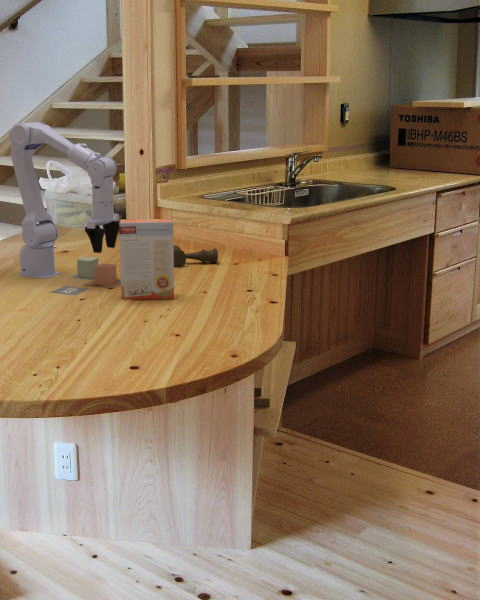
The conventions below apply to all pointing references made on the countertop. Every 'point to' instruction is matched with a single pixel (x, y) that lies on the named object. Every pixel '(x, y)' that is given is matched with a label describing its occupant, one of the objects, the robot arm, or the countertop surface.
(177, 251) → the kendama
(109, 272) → the rust block
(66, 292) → the tile
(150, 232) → the cracker box
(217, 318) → the countertop surface
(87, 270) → the sage block
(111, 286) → the walnut coaster
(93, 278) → the gray coaster
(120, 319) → the countertop surface
